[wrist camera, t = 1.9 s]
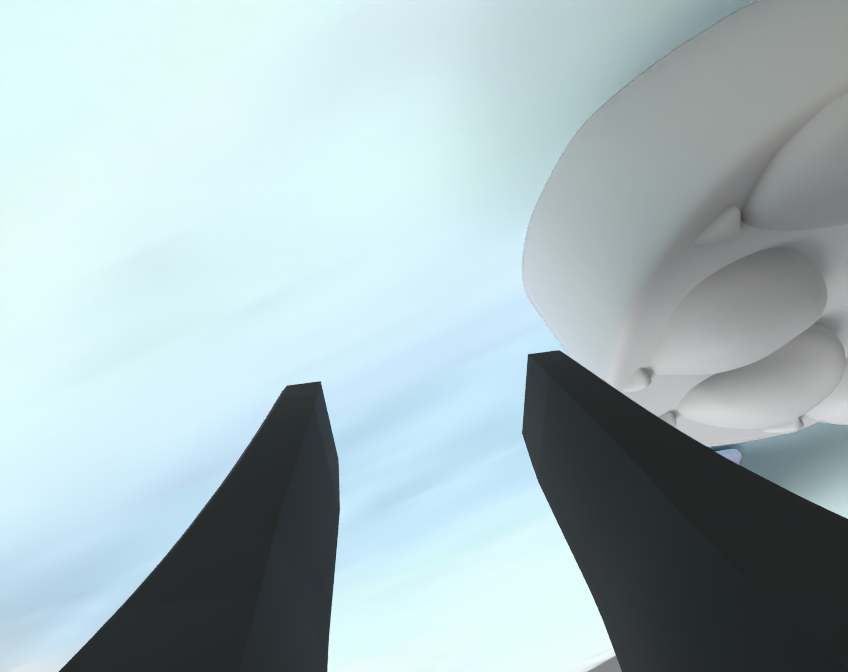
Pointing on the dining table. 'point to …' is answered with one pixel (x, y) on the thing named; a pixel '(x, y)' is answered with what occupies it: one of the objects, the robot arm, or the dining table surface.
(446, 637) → the dining table surface
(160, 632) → the robot arm
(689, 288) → the lumpy-topped squat cylinder
